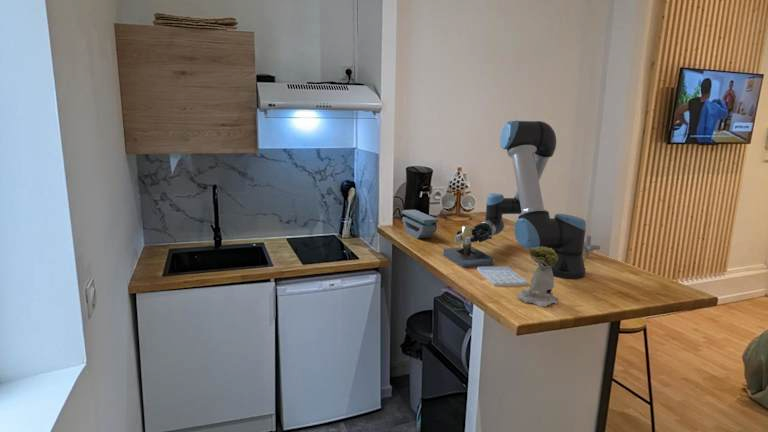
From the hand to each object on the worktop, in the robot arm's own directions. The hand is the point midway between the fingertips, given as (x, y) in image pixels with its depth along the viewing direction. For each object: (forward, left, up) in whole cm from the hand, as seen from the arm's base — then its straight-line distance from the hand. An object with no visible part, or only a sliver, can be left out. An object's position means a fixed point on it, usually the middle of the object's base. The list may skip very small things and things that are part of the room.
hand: (460, 240), depth 202 cm
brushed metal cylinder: (+3, -4, -7) cm, 9 cm away
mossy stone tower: (-46, -5, -9) cm, 47 cm away
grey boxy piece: (+45, -1, -9) cm, 46 cm away
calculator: (-22, -6, -10) cm, 25 cm away
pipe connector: (-9, -58, -9) cm, 60 cm away
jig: (+1, -4, -9) cm, 10 cm away
